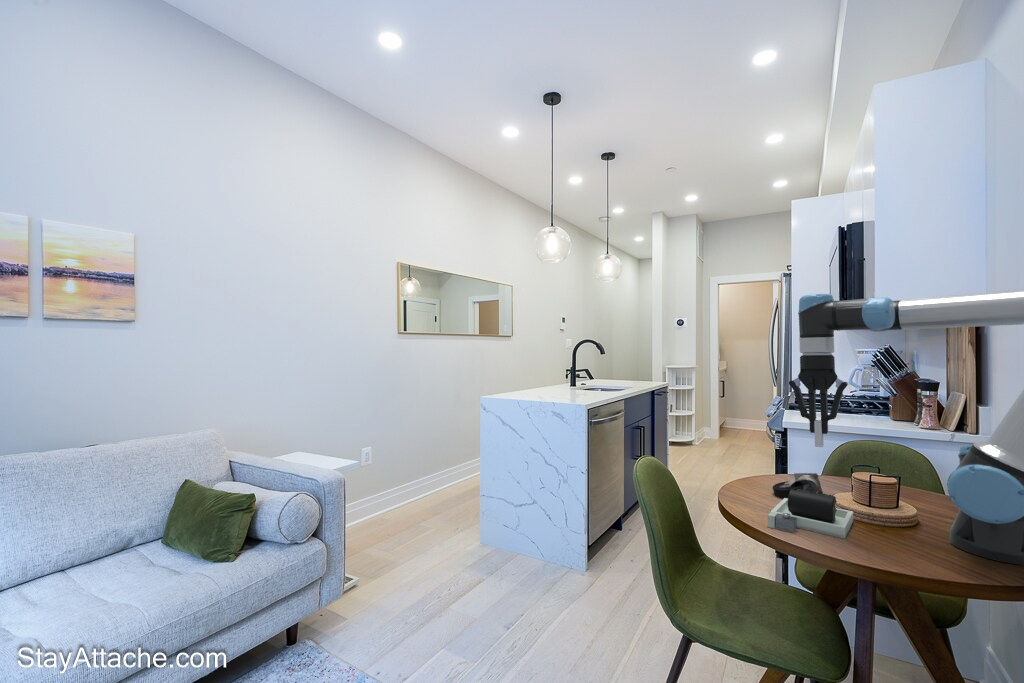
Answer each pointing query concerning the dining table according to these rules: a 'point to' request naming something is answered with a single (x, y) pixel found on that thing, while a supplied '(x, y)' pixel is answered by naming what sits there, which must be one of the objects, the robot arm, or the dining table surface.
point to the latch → (786, 522)
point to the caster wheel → (799, 485)
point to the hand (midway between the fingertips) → (819, 445)
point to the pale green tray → (816, 521)
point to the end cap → (812, 505)
